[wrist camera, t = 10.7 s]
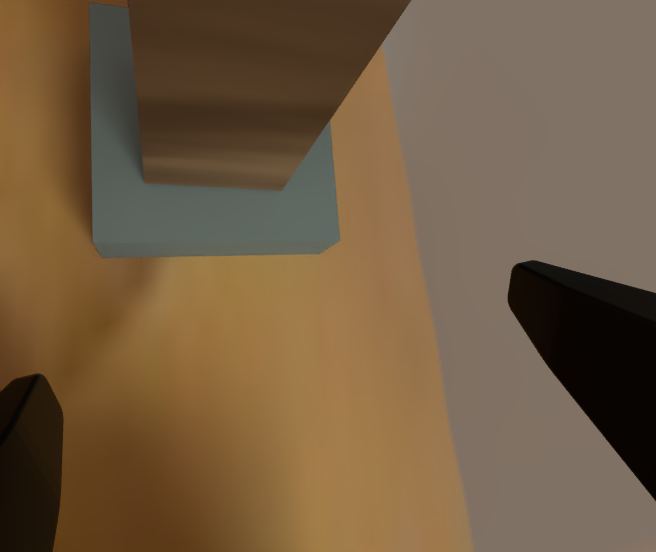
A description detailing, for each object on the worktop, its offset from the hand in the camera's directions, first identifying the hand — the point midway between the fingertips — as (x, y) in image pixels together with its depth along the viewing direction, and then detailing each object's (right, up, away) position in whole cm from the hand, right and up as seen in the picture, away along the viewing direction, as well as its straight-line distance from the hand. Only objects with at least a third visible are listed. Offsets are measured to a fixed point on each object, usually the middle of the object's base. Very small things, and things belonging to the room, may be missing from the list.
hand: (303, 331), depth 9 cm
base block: (-5, +6, +12) cm, 15 cm away
